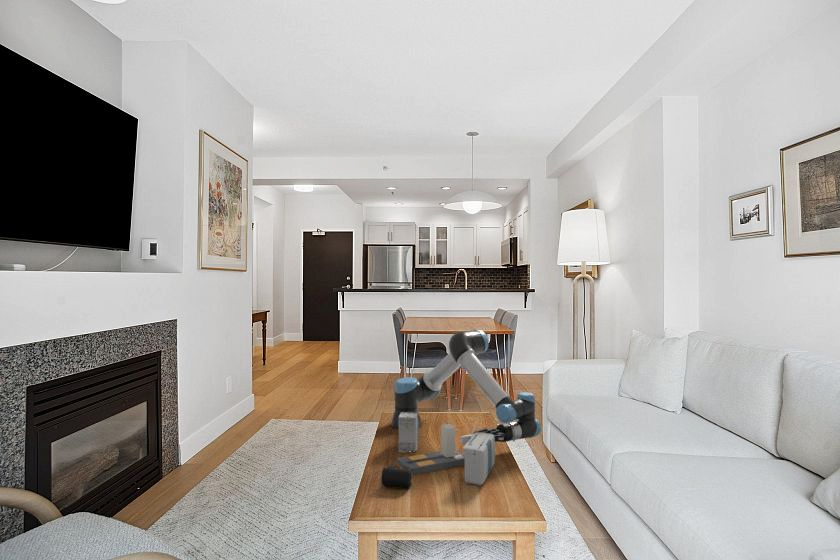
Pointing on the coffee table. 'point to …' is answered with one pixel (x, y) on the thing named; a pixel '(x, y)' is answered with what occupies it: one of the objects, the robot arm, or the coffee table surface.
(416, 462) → the grey flat board
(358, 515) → the coffee table surface
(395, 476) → the end cap
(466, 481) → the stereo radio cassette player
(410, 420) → the circuit breaker
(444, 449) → the slider tab
